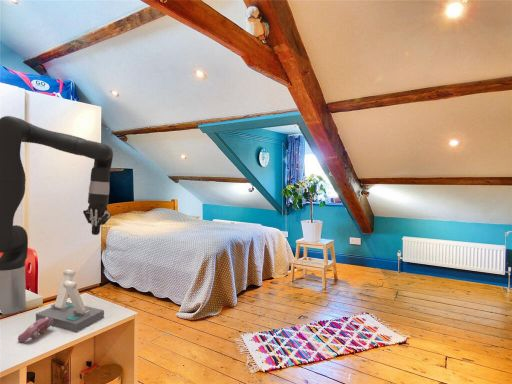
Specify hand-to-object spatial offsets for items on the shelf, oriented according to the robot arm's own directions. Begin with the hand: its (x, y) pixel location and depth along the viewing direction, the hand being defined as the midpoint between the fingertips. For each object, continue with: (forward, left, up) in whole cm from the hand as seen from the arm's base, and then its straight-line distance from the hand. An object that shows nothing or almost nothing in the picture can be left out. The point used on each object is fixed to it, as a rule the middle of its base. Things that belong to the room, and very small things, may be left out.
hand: (95, 234), depth 131 cm
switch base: (+2, -14, -30) cm, 33 cm away
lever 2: (+8, -14, -26) cm, 30 cm away
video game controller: (+2, -26, -30) cm, 40 cm away
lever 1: (-3, -14, -26) cm, 29 cm away
